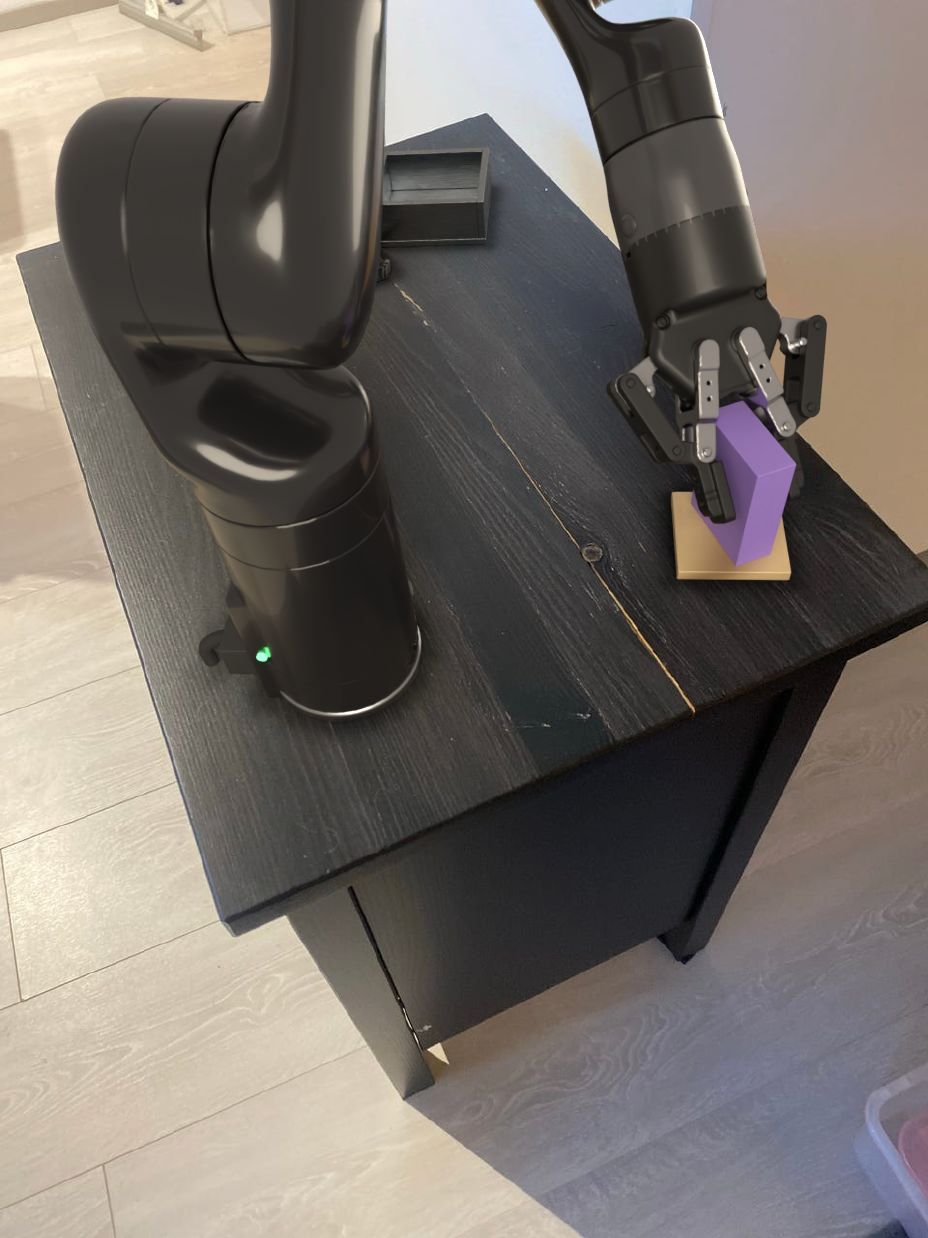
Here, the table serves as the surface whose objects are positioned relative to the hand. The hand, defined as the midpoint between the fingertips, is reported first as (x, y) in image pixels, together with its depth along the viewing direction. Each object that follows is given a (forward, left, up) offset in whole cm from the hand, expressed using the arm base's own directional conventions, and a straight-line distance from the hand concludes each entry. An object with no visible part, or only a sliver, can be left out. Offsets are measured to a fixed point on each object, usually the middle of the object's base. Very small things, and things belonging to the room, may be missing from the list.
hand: (755, 510), depth 58 cm
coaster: (-1, +2, -5) cm, 5 cm away
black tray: (-24, +41, -5) cm, 47 cm away
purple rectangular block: (-1, +2, -4) cm, 4 cm away
